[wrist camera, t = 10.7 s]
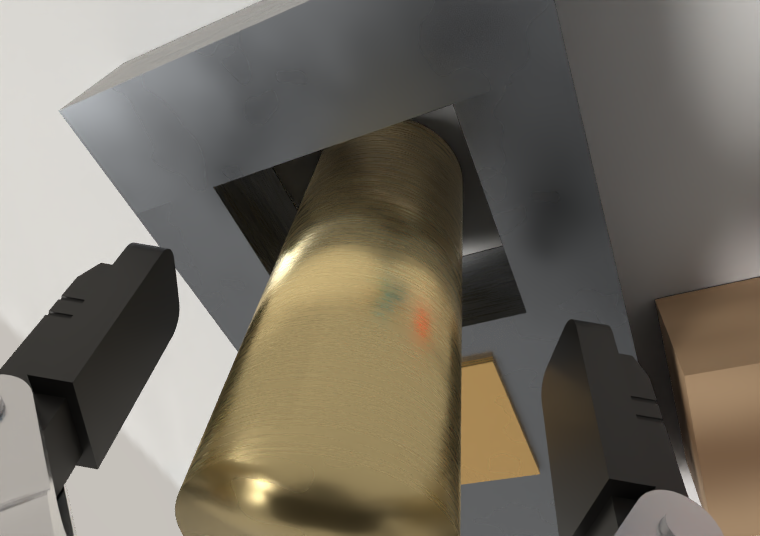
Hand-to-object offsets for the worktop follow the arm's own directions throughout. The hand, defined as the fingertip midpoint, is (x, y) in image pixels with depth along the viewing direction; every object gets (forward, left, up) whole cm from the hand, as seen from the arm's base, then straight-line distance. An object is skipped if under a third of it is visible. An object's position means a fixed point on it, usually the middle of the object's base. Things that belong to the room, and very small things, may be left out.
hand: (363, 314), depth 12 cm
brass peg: (0, 0, -5) cm, 5 cm away
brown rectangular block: (-10, -9, -5) cm, 14 cm away
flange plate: (-4, 0, -5) cm, 7 cm away
